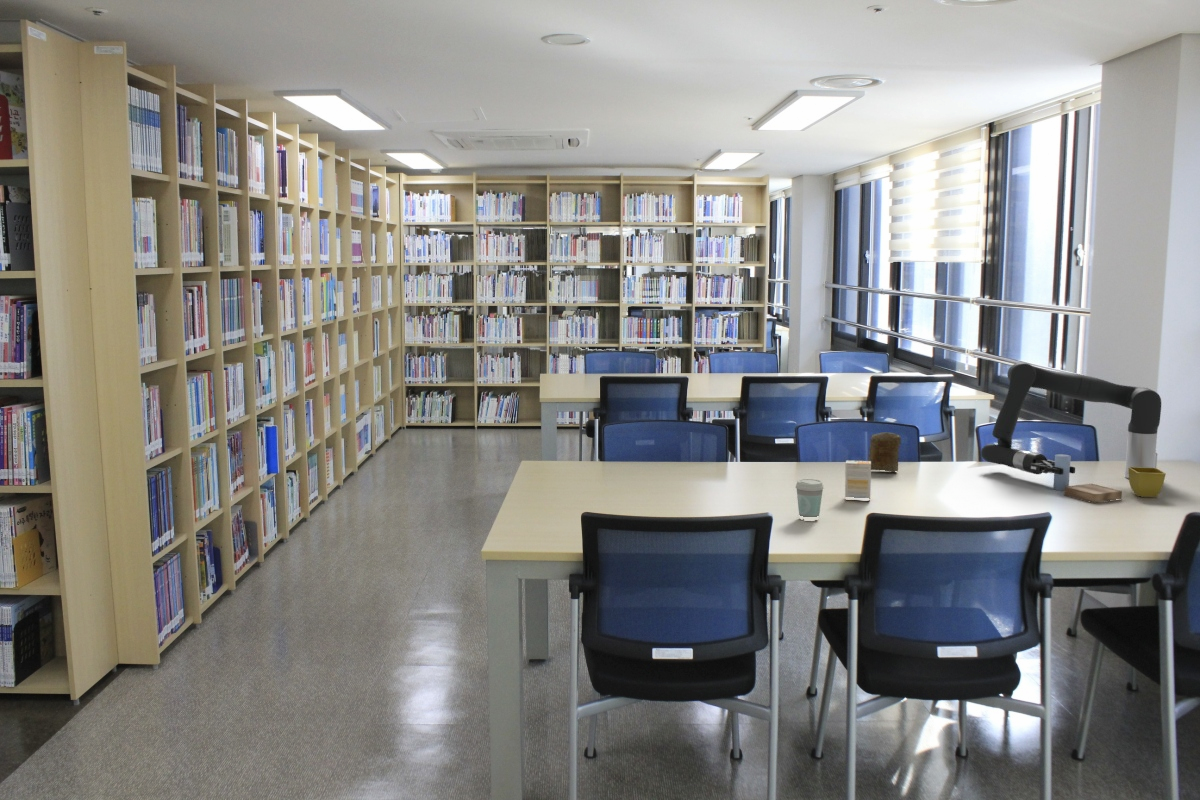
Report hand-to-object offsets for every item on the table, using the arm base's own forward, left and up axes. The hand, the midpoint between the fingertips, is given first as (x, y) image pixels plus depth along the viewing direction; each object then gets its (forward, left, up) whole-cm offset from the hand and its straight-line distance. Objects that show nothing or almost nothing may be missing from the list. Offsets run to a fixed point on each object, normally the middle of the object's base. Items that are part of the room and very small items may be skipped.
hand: (1068, 471), depth 314 cm
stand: (0, +10, -7) cm, 12 cm away
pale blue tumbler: (0, -3, -7) cm, 7 cm away
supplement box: (+74, -18, -7) cm, 76 cm away
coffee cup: (+103, -3, -7) cm, 103 cm away
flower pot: (-18, +15, -7) cm, 25 cm away
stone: (+38, -51, -7) cm, 64 cm away
